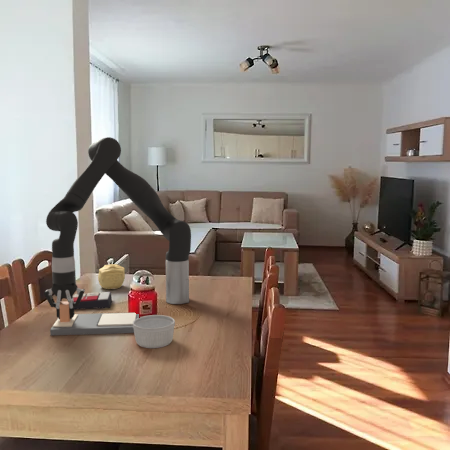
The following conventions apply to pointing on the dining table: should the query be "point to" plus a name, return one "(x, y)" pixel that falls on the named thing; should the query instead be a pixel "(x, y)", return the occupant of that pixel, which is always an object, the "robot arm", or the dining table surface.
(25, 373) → the dining table surface
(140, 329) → the ramekin
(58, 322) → the upright wooden block
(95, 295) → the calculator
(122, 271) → the yellow sugar bowl
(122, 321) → the grey rectangular board
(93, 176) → the robot arm
